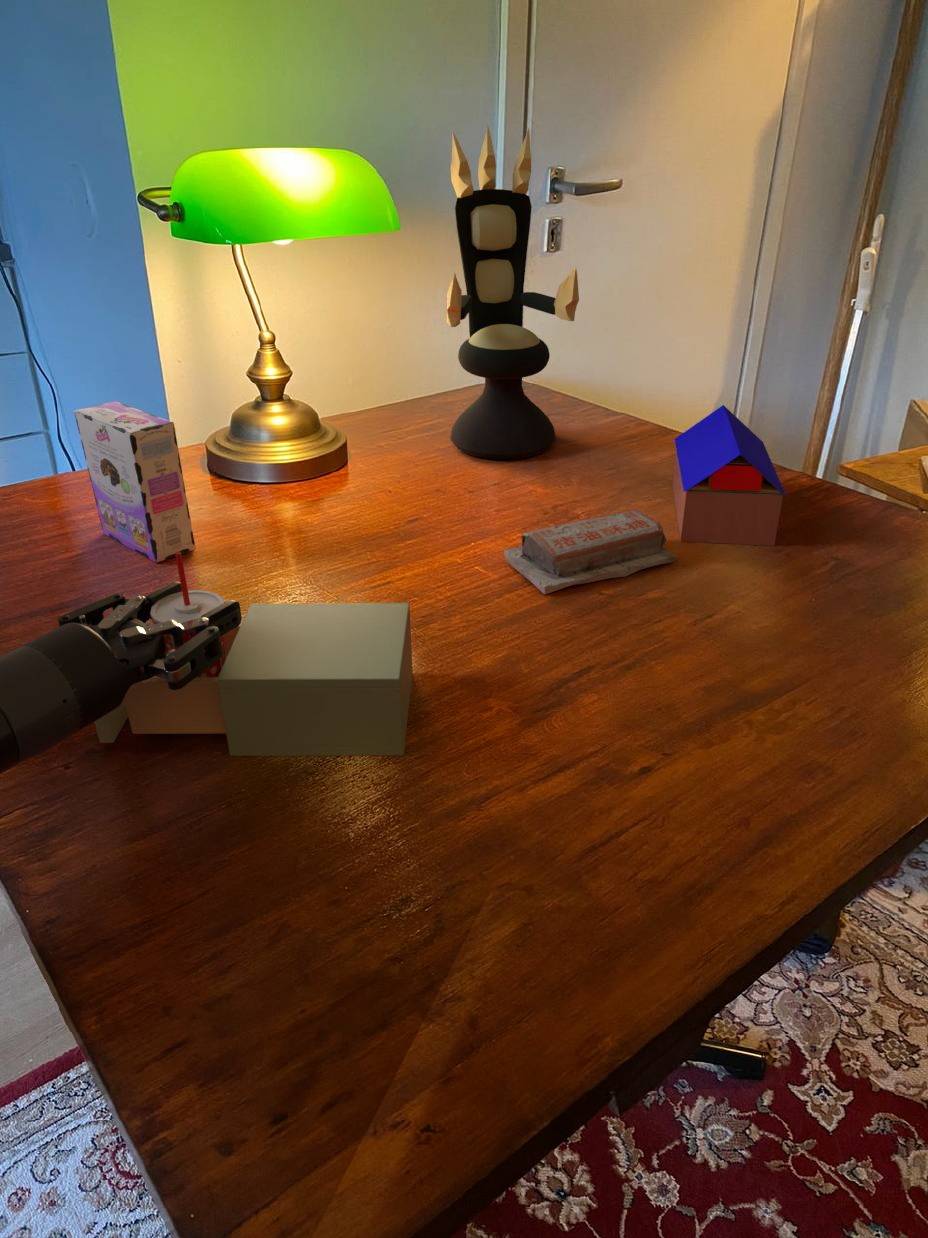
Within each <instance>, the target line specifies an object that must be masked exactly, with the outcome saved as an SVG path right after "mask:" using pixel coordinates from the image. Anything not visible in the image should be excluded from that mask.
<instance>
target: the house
mask: <svg viewBox="0 0 928 1238" xmlns="http://www.w3.org/2000/svg"><path fill="white" fill-rule="evenodd" d="M674 445H675V446H674V447H675V456H674V465H673V473H672V482H671V487H672V494H673V499H674V505H675V512H676V519H677V520H676V521H677V527H678V532H679V540H680V542H686V543H688V542H689V543H706V544H707V543H709V544H727V545H728V544H729V545H745V546H746V545H747V546H749V545H750V546H767V547H768V546H769V547H775V544H776V538H777V532H778V527H779V523H780V522H779V521H780V516H781V510H782V506H783V505H782V504H783V498H784V497H787V494H786V492H785V490H784V487H783V485H782V483H781V481H780V478H779V476H778V473H777V471H776V469H775V467H774V465H773V462H772V460H771V457H770V455H769V453H768V450H767V447H766V445H765V443H764V441H763V440H761V438H760V437H758V436H757V435H756V434H755V433H754V432H753V431H752V430H751V429H750V428H749V427H748V426H747V425H745V424H744V422H742V421H741V419H739V418H738V417H737V416H736V415H735V414H734V413H733V412H732V411H731V410H730V409H728V408H727V407H726V406H725V405H724V404H722V405H721V406H720V407H718V408H717V409H715V410H713V411H712V412H711V413H710V414H708V415H707V416H705V417H703V419H701V420H699V421H698V422H697V423H695V424H694V425H692V426H691V427H690V428H688V429H687V430H685V431H684V432H682V433H681V434H680V435H678V436H676V437H675V438H674Z"/></svg>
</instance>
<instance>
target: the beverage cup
mask: <svg viewBox="0 0 928 1238" xmlns="http://www.w3.org/2000/svg"><path fill="white" fill-rule="evenodd" d="M175 555H176V556H175V561H176V565H177V572H178V576H179V577H178V578H179V583H181V589H182V592H178V593H175V594H171V595H168V596H166V597H164V598H162V599H161V600H159V601H157V602H156V603H155V604H154V605H153V606H152V608H151V612H150V615H151V617H152V620H151V621H152V623H153V625H154V624H158V623H161V622H165V621H169V620H175V621H177V622H178V623H182V622H186V621H190V620H193V619H197V618H201V616H202V615H204V614H205V613H207V612H209V611H211V610H213V609H214V608H216V607H218V606H220V605H221V604H223V603H225V602H226V601H225V599H224V598H223V597H222V596H221V594H219V593H216V592H213V591H210V590H203V589H192V590H191V589H190V590H188V589H189V588H188V583H187V577H186V573H185V567H184V560H183V556H182V555H183V554H181V552H176V553H175ZM163 636H164V640H165V645H166V653H165V654H167V653H169V650H171V649H172V644H171V639H170V634H166V635H163ZM194 636H196V633H195V632H192V633H188V634H185V635H184V636H183V641H184V644H185V643H186V642H187V641H189V640H190V639H191V638H193V637H194ZM220 639H221V645H222V651H223V656H222V657H221V658H220V659H219V660H218V661H216V662H215V663H214V664H212V665H211V666H210V667H209V668H207V669H206V670H205V671H203V672H202V673H201V674H200V675H198V676H197V677H218V676H219V674H220V671H221V669H222V667H223V665H224V662H225V660H226V646H225V634H224V635H223V636H221V637H220ZM205 652H206V651H204V653H205Z"/></svg>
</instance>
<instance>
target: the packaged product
mask: <svg viewBox="0 0 928 1238" xmlns="http://www.w3.org/2000/svg"><path fill="white" fill-rule="evenodd" d="M666 541H667V537H666V535H665V534H664V528H663V526H662V525H661V524H660V521H659V520H658V519H655V518H653V517H651V516H650V515H648V514H647V513H646V512H645V511H642V510H640V509H638V508H634V509H629V510H628V509H627V510H622V511H618V512H614V513H608V514H607V513H606V514H604V515H597V516H594V517H589V518H588V517H587V518H584V519H579V520H575V521H570V522H565V523H562V524H556V525H552V526H547V527H541V528H537V529H532V530H529V531H526V532H524V533H523V534H522V535H521V546H516V547H511V548H506V549H505V548H504V550H503V554H504V555H503V556H504V561H505V562H506V563H507V564H509V565H510V566H511V567H512V568H513V569H515V570H516V571H517V572H518V573H519V574H521V575H522V576H523V577H524V578H525V579H527V580H528V581H529V582H530V583H532V584H533V586H534V587H536V588H537V589H538V590H539V591H540V592H541V593H542V594H543V595H547V594H548V595H549V594H551V593H553V592H556V591H559V590H562V589H566V588H568V587H570V586H577V585H583V584H588V583H592V582H593V583H594V582H598V581H602V580H603V581H604V580H608V579H613V578H614V579H615V578H616V579H617V578H626V577H628V576H630V575H632V574H634V573H636V572H638V571H641V570H644V569H645V570H646V569H649V568H652V567H657V566H659V565H664V564H670V563H674V562H675V560H676V559H677V556H676V555H675V554H674V553H672V552H670V551H669V550H667V549H666V548H664V547H665V545H666Z"/></svg>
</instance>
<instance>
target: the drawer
mask: <svg viewBox="0 0 928 1238" xmlns="http://www.w3.org/2000/svg"><path fill="white" fill-rule="evenodd" d="M242 622H243V621H241V624H242ZM241 624H240V625H239V626H238V627H236V628H233V630H231V631H229V632H228V633H226V634H225V646H226V658H227V656H228V653H229V651H230V649H231V647H232V644H233V642H234V640H235V638H236V635H237V633H238V631H239V629H240V626H241ZM217 678H218V677H196V678H195V679H193V680H192V681H191V682H189V683H188V684H187V685H186V686H184V687H183V688H181V689H179V690H171V689H169V686H168V681H167V679H164V678H160V677H156V676H154V677H152V678H151V679H148V680H145V681H141V682H138V683H135V684H133V685H132V686H131V687H130V688H129V690H128V691H127V693H126V695H125V698H124V700H123V702H122V703H121V705H120V706H119V707H117V708H116V709H114V710H113V711H111V712H110V713H108V714H106V715H105V716H103V717H101V718H100V719H98V720H96V721H95V722H94V725H95V729H96V733H97V737H98V740H99V743H100V744H113V743H114V742H115V741H116V739H117V738H118V735H119V734H120V732H121V730H122V729H123V726H124V725H125V722H126V721H127V720H128V721H129V726H130V728H131V733H132V734H133V735H157V734H158V735H159V734H161V735H163V734H164V735H165V734H168V735H169V734H170V735H171V734H177V735H179V734H181V735H184V734H186V735H187V734H189V735H191V734H194V735H195V734H197V735H200V734H202V735H203V734H205V735H207V734H210V735H211V734H213V735H214V734H216V735H217V734H221V735H222V734H225V735H226V730H225V724H224V719H223V713H222V707H221V702H220V696H219V690H218V684H217Z"/></svg>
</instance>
